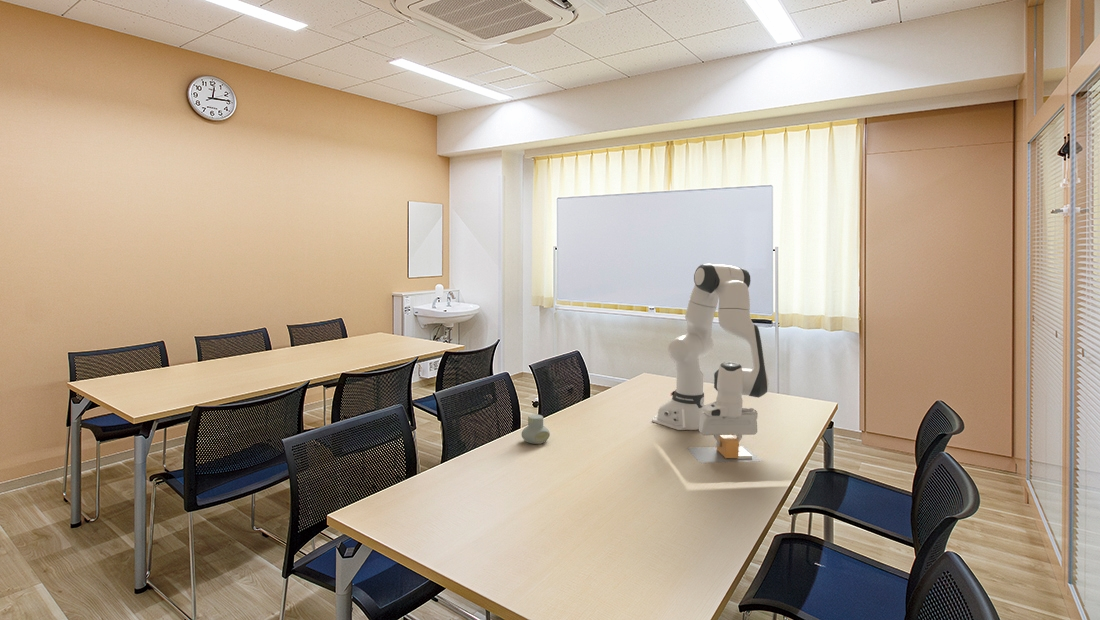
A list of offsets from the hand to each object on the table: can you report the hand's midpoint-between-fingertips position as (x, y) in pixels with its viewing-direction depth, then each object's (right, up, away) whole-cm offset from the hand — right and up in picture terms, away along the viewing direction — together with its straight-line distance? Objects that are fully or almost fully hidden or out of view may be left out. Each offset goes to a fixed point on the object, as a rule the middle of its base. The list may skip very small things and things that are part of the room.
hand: (727, 446), depth 194 cm
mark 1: (+5, -3, +3) cm, 6 cm away
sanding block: (0, -3, 0) cm, 3 cm away
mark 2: (+5, -3, -2) cm, 6 cm away
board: (-1, -4, 0) cm, 5 cm away
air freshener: (-69, -3, +17) cm, 71 cm away
